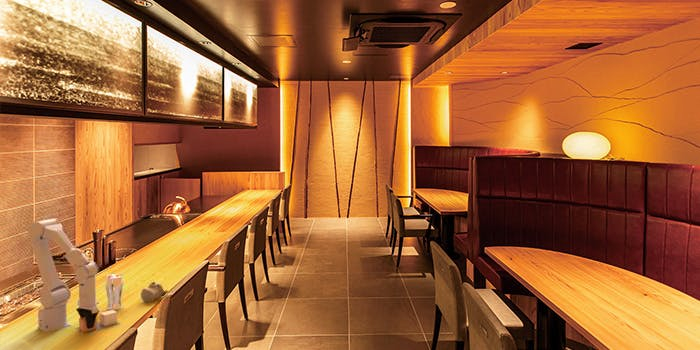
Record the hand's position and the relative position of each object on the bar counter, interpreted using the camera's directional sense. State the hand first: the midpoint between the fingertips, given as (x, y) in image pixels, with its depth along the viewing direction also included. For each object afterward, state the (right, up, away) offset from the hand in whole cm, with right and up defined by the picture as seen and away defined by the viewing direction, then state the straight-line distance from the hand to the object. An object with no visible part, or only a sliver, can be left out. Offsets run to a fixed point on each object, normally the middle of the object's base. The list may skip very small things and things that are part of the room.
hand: (88, 326), depth 187 cm
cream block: (+5, -1, +6) cm, 8 cm away
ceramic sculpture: (+10, 0, +38) cm, 40 cm away
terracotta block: (0, -1, 0) cm, 1 cm away
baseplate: (+3, -1, +3) cm, 4 cm away
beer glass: (-2, 0, +25) cm, 25 cm away
